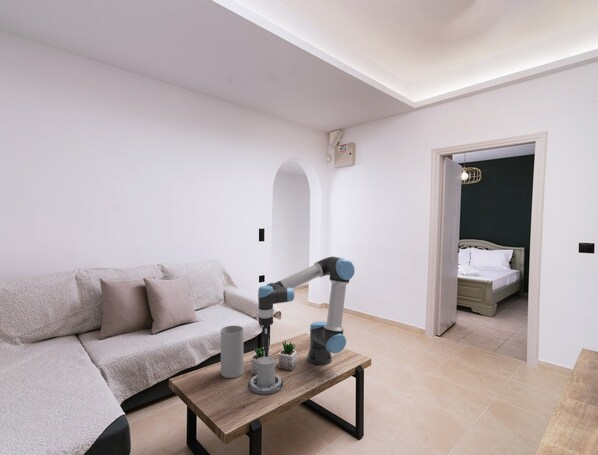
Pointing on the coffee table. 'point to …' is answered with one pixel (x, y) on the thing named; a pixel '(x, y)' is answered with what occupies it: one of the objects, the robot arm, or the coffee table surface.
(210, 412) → the coffee table surface
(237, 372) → the cylinder vase
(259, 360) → the beer can
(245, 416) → the coffee table surface
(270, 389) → the round grey metal tray
